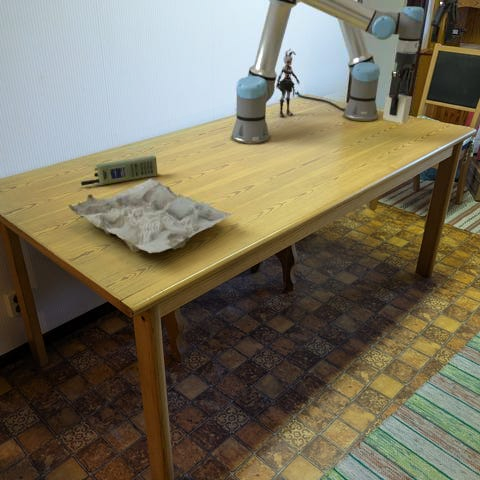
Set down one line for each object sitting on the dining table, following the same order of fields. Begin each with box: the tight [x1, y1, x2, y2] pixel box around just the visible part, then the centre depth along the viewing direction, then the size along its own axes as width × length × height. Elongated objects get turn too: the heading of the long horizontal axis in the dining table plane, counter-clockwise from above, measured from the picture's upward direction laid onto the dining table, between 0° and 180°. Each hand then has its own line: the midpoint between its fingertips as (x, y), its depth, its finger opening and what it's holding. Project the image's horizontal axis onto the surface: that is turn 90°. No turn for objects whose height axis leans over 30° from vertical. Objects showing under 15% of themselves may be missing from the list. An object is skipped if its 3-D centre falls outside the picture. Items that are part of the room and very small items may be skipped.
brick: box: [382, 93, 413, 124], centre depth 200 cm, size 5×8×10 cm, turn 45°
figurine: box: [275, 48, 300, 118], centre depth 229 cm, size 15×6×30 cm, turn 132°
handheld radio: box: [80, 155, 159, 187], centre depth 164 cm, size 7×3×25 cm
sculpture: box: [68, 178, 232, 254], centre depth 138 cm, size 38×6×30 cm
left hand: (396, 113), depth 201 cm, fingers closed on brick, 5 cm apart
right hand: (441, 41), depth 226 cm, fingers open, 13 cm apart
